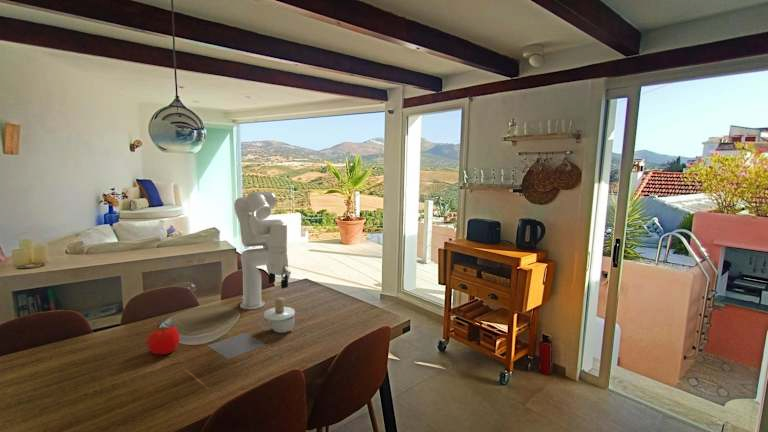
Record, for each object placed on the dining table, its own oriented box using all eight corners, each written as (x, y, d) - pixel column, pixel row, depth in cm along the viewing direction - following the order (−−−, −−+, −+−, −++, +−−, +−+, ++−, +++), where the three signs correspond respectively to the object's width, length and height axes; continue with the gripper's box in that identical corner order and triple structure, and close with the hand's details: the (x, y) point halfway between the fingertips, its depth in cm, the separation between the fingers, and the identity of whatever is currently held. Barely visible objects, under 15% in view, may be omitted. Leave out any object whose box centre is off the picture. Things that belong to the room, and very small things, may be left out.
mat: (207, 346, 155) (207, 345, 155) (244, 333, 168) (244, 332, 168) (228, 360, 144) (227, 359, 144) (265, 345, 157) (265, 344, 157)
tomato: (187, 349, 152) (186, 325, 151) (160, 361, 142) (159, 336, 141) (168, 342, 157) (167, 319, 156) (140, 354, 147) (139, 329, 146)
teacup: (297, 326, 177) (297, 310, 176) (289, 336, 166) (289, 319, 165) (270, 324, 178) (269, 308, 177) (260, 334, 168) (260, 317, 167)
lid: (257, 314, 170) (257, 299, 169) (283, 306, 181) (283, 291, 180) (275, 323, 161) (275, 306, 161) (301, 314, 172) (301, 298, 171)
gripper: (260, 247, 170) (260, 282, 172) (282, 254, 159) (282, 291, 162) (274, 244, 176) (274, 279, 178) (296, 251, 165) (296, 287, 168)
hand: (278, 285), depth 170 cm, fingers open, 9 cm apart
